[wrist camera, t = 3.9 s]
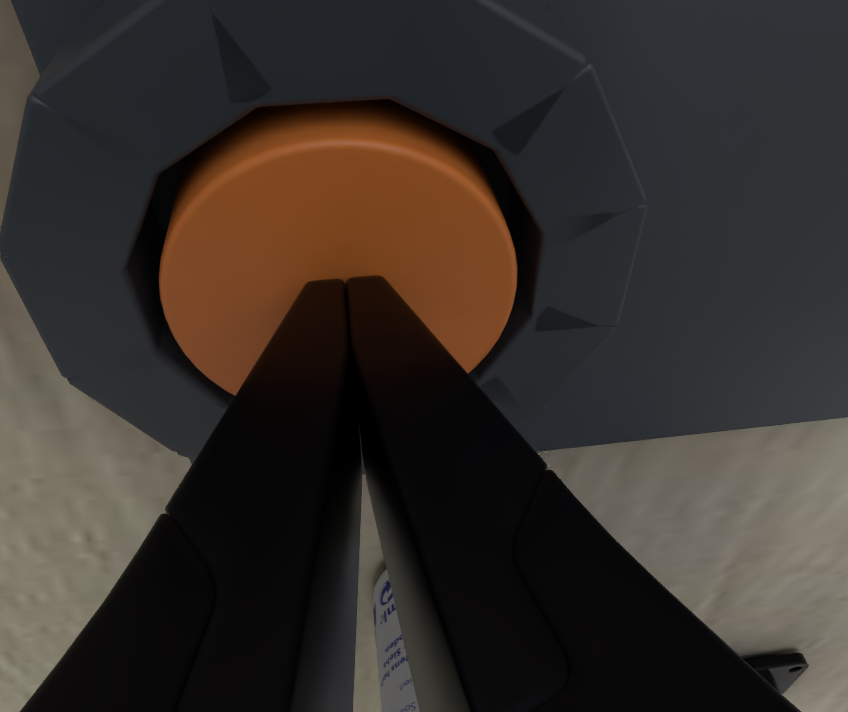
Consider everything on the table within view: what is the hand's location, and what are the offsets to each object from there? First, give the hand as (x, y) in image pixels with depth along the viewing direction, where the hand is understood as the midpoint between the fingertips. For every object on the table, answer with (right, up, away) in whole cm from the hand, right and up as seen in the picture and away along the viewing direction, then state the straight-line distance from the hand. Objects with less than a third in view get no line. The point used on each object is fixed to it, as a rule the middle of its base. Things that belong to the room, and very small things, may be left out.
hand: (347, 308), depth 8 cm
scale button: (0, +1, +1) cm, 2 cm away
